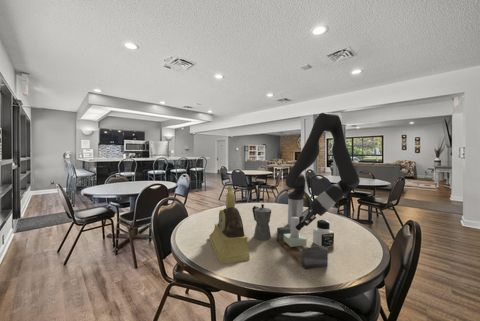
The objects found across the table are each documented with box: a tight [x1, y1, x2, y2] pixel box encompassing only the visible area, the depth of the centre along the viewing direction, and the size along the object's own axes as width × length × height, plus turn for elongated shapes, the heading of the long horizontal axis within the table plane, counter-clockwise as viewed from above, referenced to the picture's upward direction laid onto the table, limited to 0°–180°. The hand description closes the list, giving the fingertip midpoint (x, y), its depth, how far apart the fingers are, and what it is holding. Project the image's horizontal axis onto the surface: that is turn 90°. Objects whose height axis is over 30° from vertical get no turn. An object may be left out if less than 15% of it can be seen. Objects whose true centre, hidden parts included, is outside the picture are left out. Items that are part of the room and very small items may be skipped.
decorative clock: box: [208, 185, 251, 265], centre depth 103 cm, size 28×13×30 cm, turn 17°
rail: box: [276, 226, 329, 270], centre depth 99 cm, size 28×10×7 cm, turn 13°
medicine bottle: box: [312, 219, 335, 248], centre depth 107 cm, size 7×7×12 cm
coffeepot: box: [251, 203, 272, 241], centre depth 118 cm, size 15×9×18 cm, turn 33°
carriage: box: [283, 217, 307, 247], centre depth 103 cm, size 8×8×12 cm
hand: (296, 225), depth 103 cm, fingers open, 8 cm apart
